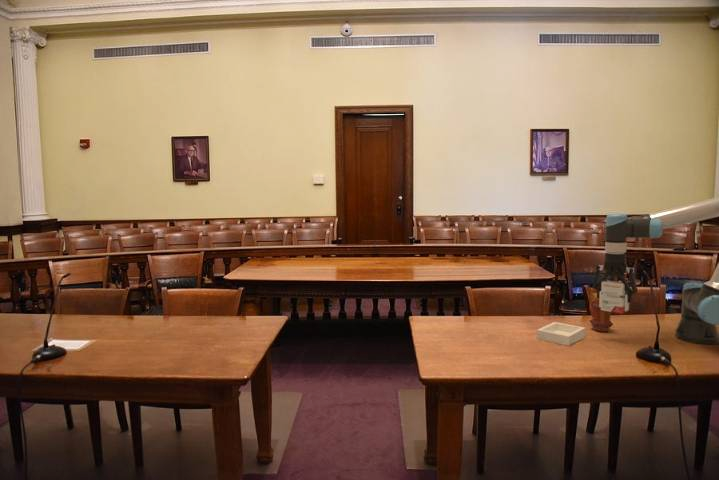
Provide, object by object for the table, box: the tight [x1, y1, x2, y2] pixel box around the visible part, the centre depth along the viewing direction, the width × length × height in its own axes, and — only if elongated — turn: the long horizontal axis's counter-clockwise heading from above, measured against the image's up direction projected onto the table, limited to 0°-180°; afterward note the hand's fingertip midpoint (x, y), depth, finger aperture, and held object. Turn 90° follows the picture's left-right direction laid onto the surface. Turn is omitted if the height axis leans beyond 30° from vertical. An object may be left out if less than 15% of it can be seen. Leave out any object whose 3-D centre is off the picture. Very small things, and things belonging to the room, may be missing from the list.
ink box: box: [600, 280, 628, 314], centre depth 198 cm, size 8×5×12 cm, turn 39°
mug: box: [588, 292, 614, 333], centre depth 217 cm, size 15×8×15 cm, turn 179°
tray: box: [536, 321, 586, 347], centre depth 204 cm, size 13×17×4 cm
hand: (613, 308), depth 199 cm, fingers closed on ink box, 9 cm apart
